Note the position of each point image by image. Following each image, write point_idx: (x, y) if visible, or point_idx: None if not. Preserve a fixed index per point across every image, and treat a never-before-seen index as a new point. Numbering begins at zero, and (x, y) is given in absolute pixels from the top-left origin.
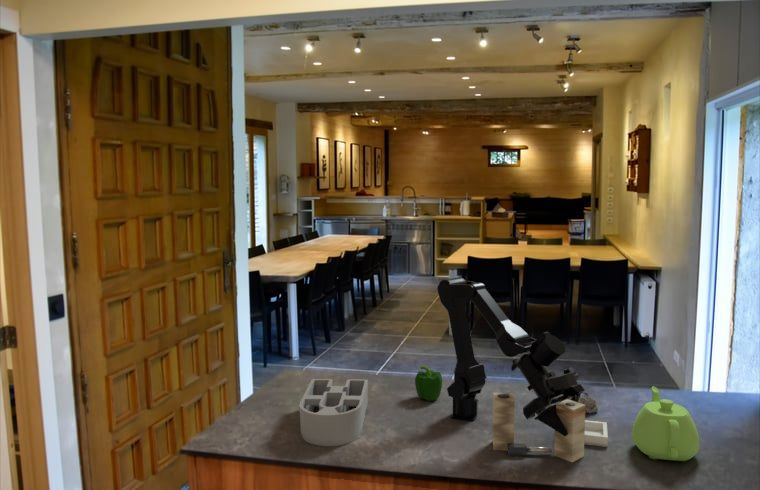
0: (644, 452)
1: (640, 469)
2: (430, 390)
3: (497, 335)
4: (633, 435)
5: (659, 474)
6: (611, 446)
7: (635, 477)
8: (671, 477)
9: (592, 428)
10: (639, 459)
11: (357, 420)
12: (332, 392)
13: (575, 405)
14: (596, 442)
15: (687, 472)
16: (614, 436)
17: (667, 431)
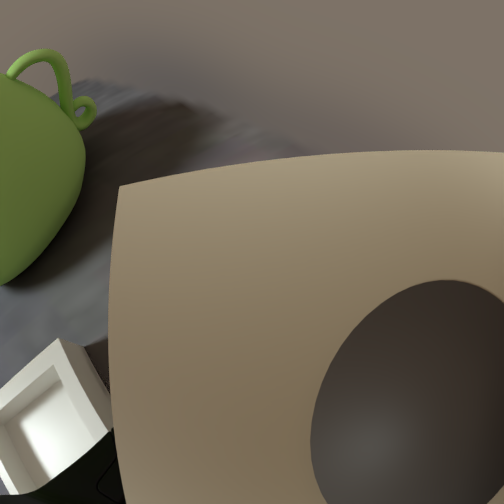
0: (73, 203)
1: (166, 170)
2: None
3: None
4: (22, 237)
5: (157, 135)
6: (69, 339)
7: (230, 147)
8: (153, 117)
9: (18, 459)
10: (100, 215)
11: None
12: None
13: (389, 272)
14: (97, 384)
15: (102, 123)
16: (6, 377)
17: (37, 93)
